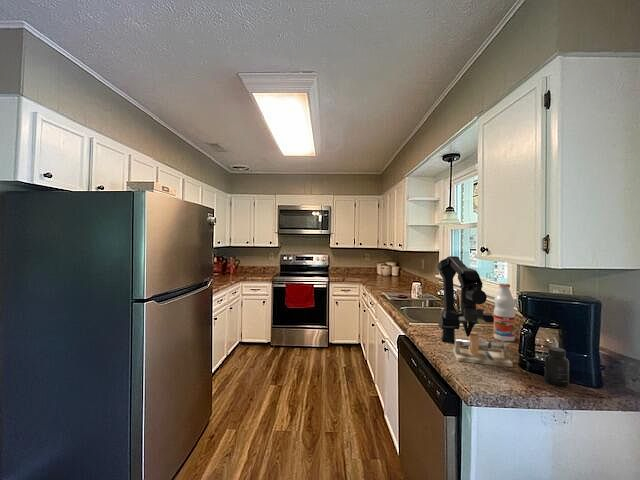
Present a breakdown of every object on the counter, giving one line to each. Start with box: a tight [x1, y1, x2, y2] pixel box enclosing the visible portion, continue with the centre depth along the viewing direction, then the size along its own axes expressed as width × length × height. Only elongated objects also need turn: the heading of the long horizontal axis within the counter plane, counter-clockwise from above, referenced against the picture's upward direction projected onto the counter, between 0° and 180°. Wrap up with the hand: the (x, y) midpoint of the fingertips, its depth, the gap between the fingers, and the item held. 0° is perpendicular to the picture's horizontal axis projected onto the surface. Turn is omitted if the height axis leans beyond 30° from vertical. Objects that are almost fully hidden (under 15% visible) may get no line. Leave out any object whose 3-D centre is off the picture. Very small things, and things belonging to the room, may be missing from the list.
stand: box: [452, 337, 513, 368], centre depth 131 cm, size 20×12×7 cm, turn 75°
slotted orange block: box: [468, 331, 479, 355], centre depth 131 cm, size 2×7×8 cm, turn 165°
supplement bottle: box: [543, 346, 570, 388], centre depth 108 cm, size 7×7×12 cm
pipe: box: [454, 338, 509, 350], centre depth 131 cm, size 20×3×3 cm, turn 75°
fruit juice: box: [493, 283, 516, 342], centre depth 159 cm, size 9×9×28 cm
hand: (467, 336), depth 132 cm, fingers closed
